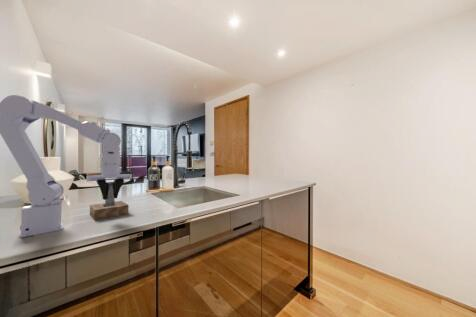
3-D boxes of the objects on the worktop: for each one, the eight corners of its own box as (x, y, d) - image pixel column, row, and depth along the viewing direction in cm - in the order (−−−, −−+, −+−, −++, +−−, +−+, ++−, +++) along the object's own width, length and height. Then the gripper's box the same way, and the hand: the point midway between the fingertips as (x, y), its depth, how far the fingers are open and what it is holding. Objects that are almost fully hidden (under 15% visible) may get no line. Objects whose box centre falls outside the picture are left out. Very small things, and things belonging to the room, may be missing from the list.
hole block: (94, 220, 72) (94, 210, 72) (89, 214, 79) (89, 205, 79) (128, 214, 81) (128, 205, 81) (121, 209, 88) (121, 200, 88)
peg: (106, 206, 70) (106, 183, 70) (104, 205, 72) (105, 182, 72) (115, 205, 72) (116, 182, 72) (113, 203, 74) (114, 181, 74)
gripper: (89, 164, 64) (88, 203, 64) (134, 164, 74) (133, 197, 74) (85, 163, 68) (84, 199, 68) (129, 163, 79) (128, 194, 79)
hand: (110, 198), depth 72 cm, fingers closed on peg, 3 cm apart
